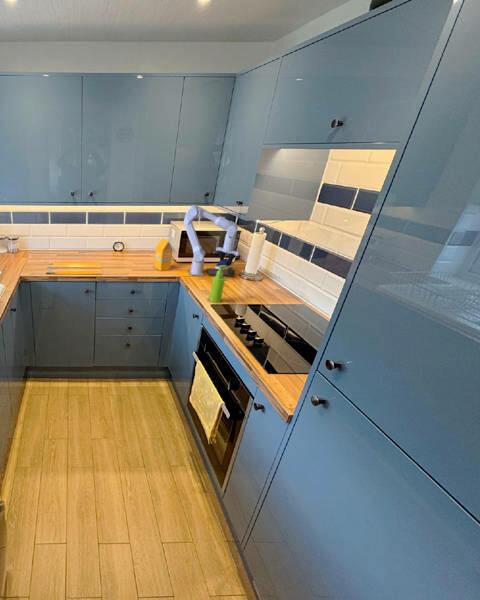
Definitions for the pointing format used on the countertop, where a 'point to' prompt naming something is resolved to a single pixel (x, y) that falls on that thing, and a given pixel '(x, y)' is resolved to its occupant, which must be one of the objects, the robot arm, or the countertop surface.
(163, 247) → the orange juice
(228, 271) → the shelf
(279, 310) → the countertop surface
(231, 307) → the countertop surface
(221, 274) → the soap dispenser
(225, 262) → the trainer
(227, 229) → the robot arm
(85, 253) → the countertop surface
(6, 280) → the countertop surface
